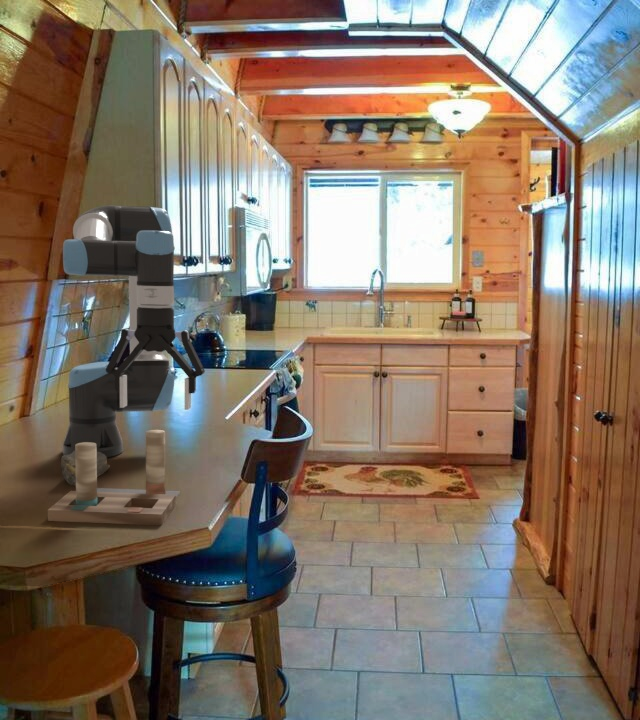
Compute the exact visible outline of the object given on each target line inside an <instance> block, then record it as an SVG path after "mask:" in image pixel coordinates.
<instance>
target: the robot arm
mask: <svg viewBox="0 0 640 720" xmlns="http://www.w3.org/2000/svg"><path fill="white" fill-rule="evenodd" d="M72 234H73V238H71V239H65V240H64V241H63V245H62V262H63V263H62V264H63V271H64V273H65V274H66V275H69V276H70V275H72V276H73V275H74V276H80V277H83V276H99V277H100V276H108V277H110V276H113V277H114V276H115V277H128V297H129V299H128V300H129V301H128V305H129V308H128V309H129V328H124V329H122V330H121V332H120V337H119V338H120V340H119V342H118V344H117V346H116V348H115V350H114V352H113V353H112V356H111V358H110V359H109V361H98V362H90V363H84V364H80V365H77V366H74V367H73V368H72V369H71V370H70V371H69V373H68V385H67V388H68V389H69V390H68V417H69V418H68V420H69V421H68V424H69V425H68V426H67V430H66V434H65V437H64V440H63V443H62V454H63V455H70V454H71V453H72V452H73V451H75V445H76V444H78V443H83V442H92V443H96V445H97V451H98V452H101V453H103V454H104V455H105V456H106V458H110V457H114V456H118V455H121V453H123V452H124V443H123V442H124V441H123V439H122V435H121V433H120V429H119V427H118V425H117V413H125V412H126V413H130V412H131V413H132V412H134V413H135V412H151V413H154V412H156V411H166V410H168V409H169V408H170V406H171V404H172V401H173V400H172V399H173V394H174V389H175V388H174V387H175V381H176V380H175V379H176V378H175V375H176V370H175V369H176V368H175V367H173V366H171V365H170V359H169V358H168V357H167V356H166V355H165V354H164V352H165V351H166V352H167V354H169V356H171V358H172V359H173V361H175V363H176V364H177V365H178V367H179V368H180V369H181V370H182V371H183V372H184V373H185V375H186V376H187V377H185V378H184V411H186V410H187V411H188V410H190V409H191V407H192V394H195V393H196V391H197V390H196V387H197V385H196V383H197V377H200V376H203V374H205V373H206V371H205V367H204V366H203V364H202V362H201V360H200V358H199V356H198V354H197V352H196V349H195V347H194V346H193V344H192V342H191V336H190V331H189V330H188V329H185V330H182V331H181V330H180V331H176V330H175V324H174V323H175V310H174V308H173V307H172V306H174V304H175V303H174V302H175V291H174V290H175V285H174V284H175V283H174V276H175V275H174V273H175V272H174V268H175V267H174V266H175V265H174V264H175V262H174V261H175V243H174V240H175V239H174V234H173V229H172V222H171V218H170V215H169V212H168V211H167V210H166V209H165V208H160V207H152V206H135V205H133V206H132V205H131V206H130V205H114V204H108V205H102V206H96V207H94V208H91V209H89V210H87V211H85V212H83V213H82V214H80V215H79V216H78V217H77V218H76V219H75V221H74V223H73V228H72ZM177 338H178V339H177ZM175 339H177V340H178V341H179V342H182V346H183V349H184V350H185V352H186V354H187V357H188V359H189V360H190V362H191V364H192V366H193V367H192V366H191V365H190V363H189V362H188V360H186V359H185V358H184V356H183V355H182V354H181V352H179V350H178V349H177V347H176V346H175V344H174V343H173V342H174V340H175ZM128 344H129V355H128V356H127V357H125V359H123V362H122V363H121V364H120V365H119V366H118V364H119V363H120V360H121V358H122V356H123V355H124V352H125V350H126V348H127V346H128ZM117 366H118V367H117ZM63 455H62V456H63Z"/></svg>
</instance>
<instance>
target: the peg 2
mask: <svg viewBox="0 0 640 720" xmlns="http://www.w3.org/2000/svg"><path fill="white" fill-rule="evenodd" d="M145 490H146V494H165V491H166V431H165V430H163V429H162V430H161V429H150V430H146V431H145Z"/></svg>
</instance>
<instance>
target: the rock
mask: <svg viewBox="0 0 640 720" xmlns="http://www.w3.org/2000/svg"><path fill="white" fill-rule="evenodd" d="M107 460H108V457H106V456H105V455H104V454H103V453H101V452H98V451H97V478H98V477H99V476H101V475H103V474H104V473H105V472H107V471H108V469H109V468H110V466H111V465H110V464H108V462H107ZM60 467H61V469H62V471H61V474H62V477H63V478H64V480H65V481H66V483H67V484H69V485H70V486H75V487H76V459H75V451H73V452H72V453H71V454H70V455H62V456H61V458H60Z"/></svg>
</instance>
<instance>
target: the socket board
mask: <svg viewBox="0 0 640 720" xmlns="http://www.w3.org/2000/svg"><path fill="white" fill-rule="evenodd" d="M176 505H177V497H176V495H168V494H141V493H115V492H97V506H86V505H76V490H70V491H68V493H66V494H65V495H64V496H62V497H61V498H60V499H59V500H58V501H57V502H55V504H53V505H51V507H49V508H48V509H47V521H49V522H67V523H68V522H70V523H94V524H97V523H98V524H119V525H120V524H121V525H123V524H124V525H142V526H143V525H146V526H148V525H149V526H162V525H163V524H164V523H165V521H166V520H167V518H168V517H169V515H170V514H171V512H172V511H173V510H174V509H175V507H176Z"/></svg>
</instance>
